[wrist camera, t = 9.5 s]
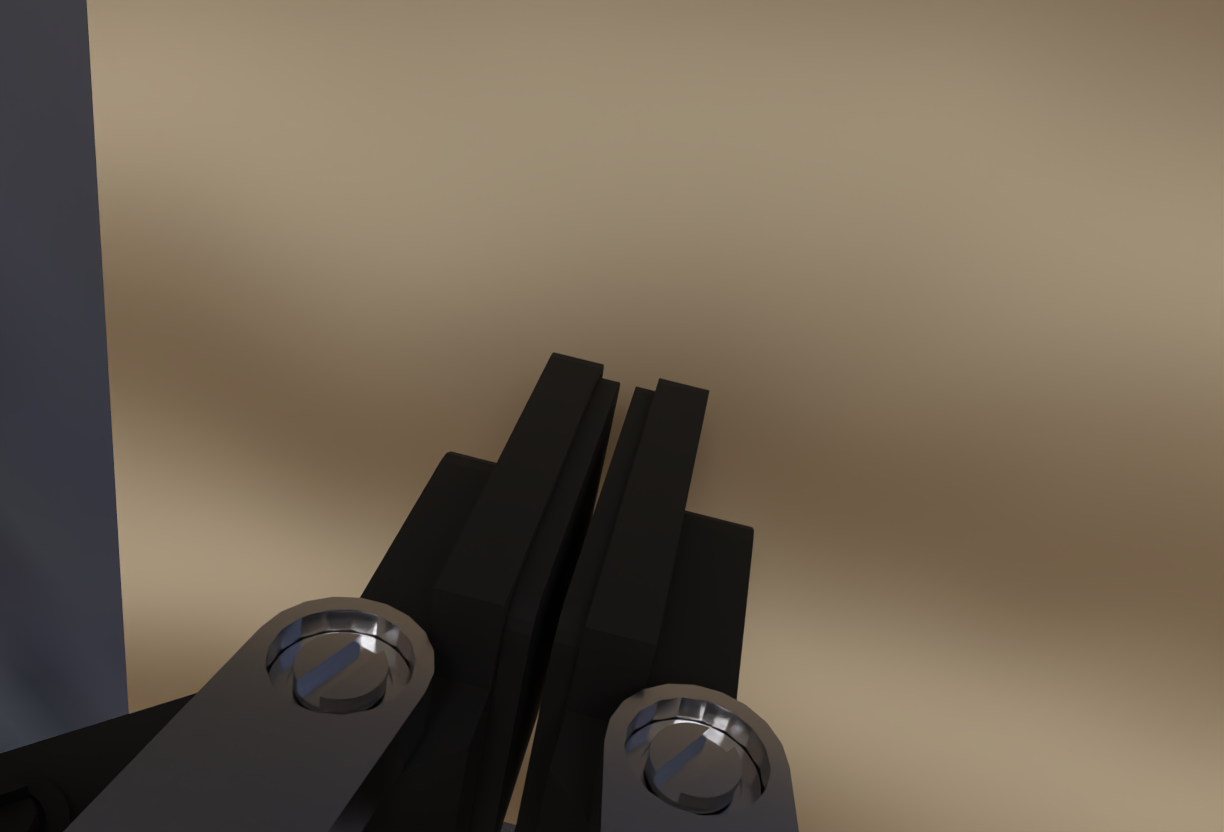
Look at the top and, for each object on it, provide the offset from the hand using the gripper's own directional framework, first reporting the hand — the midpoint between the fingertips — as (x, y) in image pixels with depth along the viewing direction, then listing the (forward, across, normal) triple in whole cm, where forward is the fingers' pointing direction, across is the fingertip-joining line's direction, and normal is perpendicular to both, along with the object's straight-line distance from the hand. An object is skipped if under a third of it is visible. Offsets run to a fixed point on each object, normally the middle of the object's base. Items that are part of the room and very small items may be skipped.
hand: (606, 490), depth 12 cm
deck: (+5, -2, 0) cm, 5 cm away
